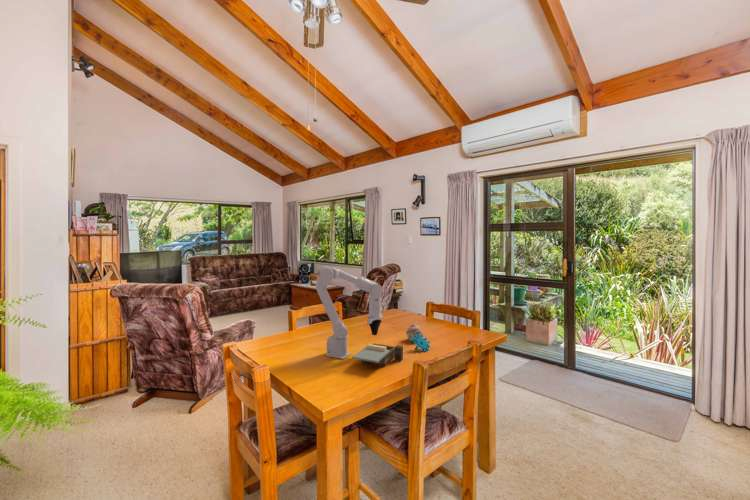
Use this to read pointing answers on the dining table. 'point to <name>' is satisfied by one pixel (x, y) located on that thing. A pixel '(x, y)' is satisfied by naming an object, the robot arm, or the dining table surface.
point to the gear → (421, 342)
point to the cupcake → (413, 332)
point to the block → (398, 353)
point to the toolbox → (386, 358)
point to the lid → (372, 353)
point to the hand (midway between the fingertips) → (374, 334)
